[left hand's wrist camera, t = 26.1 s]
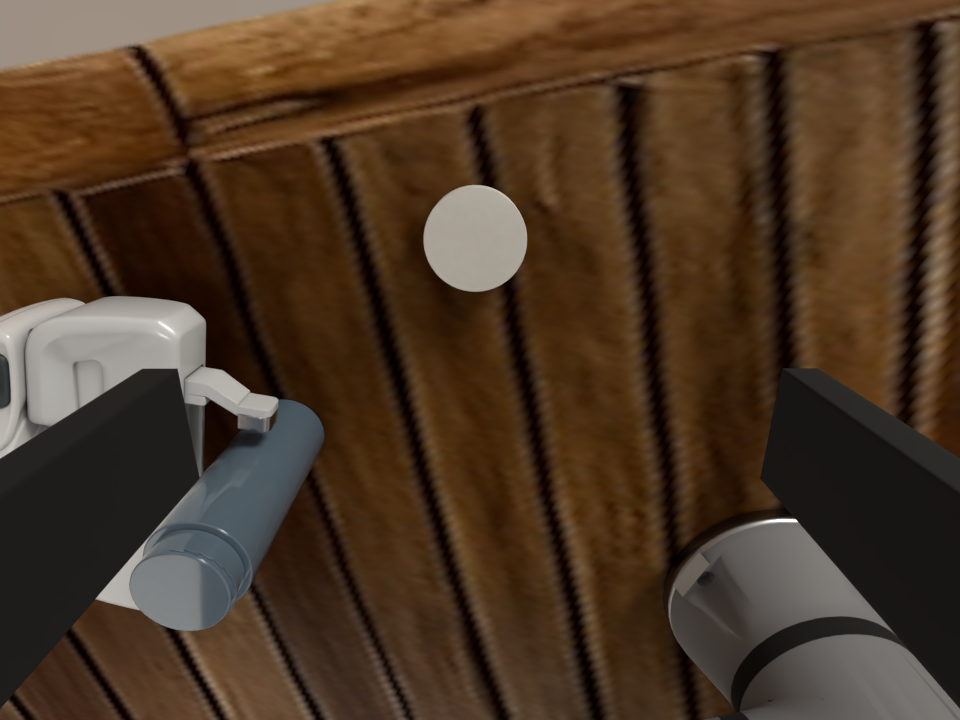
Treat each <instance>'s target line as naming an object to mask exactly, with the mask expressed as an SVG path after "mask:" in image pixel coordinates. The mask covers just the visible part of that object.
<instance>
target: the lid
mask: <svg viewBox="0 0 960 720" xmlns="http://www.w3.org/2000/svg"><path fill="white" fill-rule="evenodd" d="M423 242H424V250H425V254H426V257H427V259H428V262H429V264H430V266H431V267H432V269H433V270H434V272H435V273H436V274H437V275H438V276H439V277H440V278H441V279H442V280H443V281H445V282H446V283H448V284H449V285H451V286H453V287H455V288H457V289H460V290H464V291H470V292H480V291H486V290H490V289H493V288H496V287H498V286H500V285H502V284H503V283H505V282H506V281H507V280H509V279H510V278H511V277H512V276H513V275H514V274H515V272H516V271H517V270H518V268H519V267H520V265H521V263H522V261H523V259H524V256H525V252H526V247H527V232H526V227H525V223H524V220H523V218H522V216H521V214H520V212H519V211H518V209H517V208H516V206H515V205H514V203H513V202H512V201H511V200H510V199H509V198H508V197H507V196H506V195H504V194H503V193H501V192H500V191H498V190H496V189H493V188H490V187H487V186H482V185H469V186H464V187H460V188H457V189H455V190H453V191H451V192H449V193H448V194H447V195H445V196H444V197H443V198H442V199H441V200H440V201H439V202H438V203H437V204H436V206H435V207H434V208H433V210H432V211H431V213H430V215H429V217H428V219H427V221H426V225H425V229H424V240H423Z"/></svg>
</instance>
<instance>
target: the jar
mask: <svg viewBox="0 0 960 720" xmlns="http://www.w3.org/2000/svg"><path fill="white" fill-rule="evenodd" d="M323 443H324V429H323V426H322V423H321V421H320V419H319V418H318V417H317V415H316V414H315V413H314V412H313V411H312V410H311V409H310V408H308V407H307V406H305V405H303V404H301V403H299V402H296V401H292V400H284V399H281V400H278V413H277V423H276V424H274V426H273V428H272V429H271V431H268V432H257V431H256V430H255V429H251V430H245V429H240V431H239V432H238V433H237V434H236V435H235V436H234V438H233V439H232V440H231V441H230V442H229V444H228V445H227V446H226V447H225V448H224V450H223V451H222V452H221V453H220V454H219V455H218V457H217V458H216V459H215V460H214V461H213V463H212V464H211V465H210V466H209V467H208V469H207V470H206V471H205V472H204V473H203V474H202V476H201V477H200V479H199V480H198V481H197V482H196V483H195V485H194V486H193V487H192V488H191V489H190V490H189V491H188V493H187V494H186V495H185V496H184V497H183V498H182V500H181V501H180V502H179V503H178V504H177V505H176V506H175V508H174V509H173V510H172V511H171V512H170V514H169V515H168V516H167V517H166V518H165V520H164V521H163V522H162V523H161V524H160V525H159V527H158V528H157V529H156V530H155V531H154V533H153V534H152V535H151V536H150V538H149V539H148V540H147V542H146V544H145V547H144V550H143V558H142V559H141V560H140V562H139V563H138V564H137V565H136V567H135V568H134V569H133V571H132V573H131V577H130V582H129V587H130V593H131V596H132V599H133V601H134V602H135V604H136V605H137V607H138V608H139V609H140V610H141V611H142V612H143V613H144V614H145V615H146V616H147V617H148V618H150V619H151V620H153V621H154V622H156V623H158V624H160V625H163V626H165V627H168V628H171V629H176V630H182V631H197V630H202V629H206V628H209V627H211V626H213V625H215V624H217V623H218V622H219V621H221V620H222V619H223V618H224V617H225V616H226V614H227V613H229V612H230V611H231V609H232V608H233V606H234V605H235V603H236V601H237V600H238V599H240V598H241V597H242V596H243V595H244V594H245V593H246V592H247V590H248V589H249V587H250V585H251V583H252V581H253V579H254V578H255V576H256V574H257V572H258V570H259V568H260V566H261V564H262V562H263V560H264V558H265V556H266V554H267V553H268V551H269V549H270V547H271V545H272V543H273V541H274V539H275V537H276V535H277V533H278V531H279V529H280V528H281V526H282V524H283V522H284V520H285V518H286V516H287V514H288V512H289V510H290V508H291V506H292V504H293V502H294V501H295V499H296V497H297V495H298V493H299V491H300V489H301V487H302V485H303V483H304V481H305V479H306V477H307V476H308V474H309V472H310V470H311V468H312V466H313V464H314V462H315V460H316V458H317V456H318V454H319V452H320V451H321V449H322V446H323Z"/></svg>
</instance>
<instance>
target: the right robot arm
mask: <svg viewBox="0 0 960 720" xmlns="http://www.w3.org/2000/svg"><path fill="white" fill-rule="evenodd" d="M205 359H206V321H205V319H204V318H203V317H202V316H201V315H200V314H199V313H198V312H197V311H196V310H194V309H193V308H192V307H191V306H190V305H188V304H185V303H181V302H177V301H170V300H163V299H155V298H144V297H126V296H112V297H105V298H101V299H98V300H95V301H92V302H90V303H87V304H85V303H83V302H81V301H78V300H75V299H69V298H59V299H53V300H48V301H43V302H39V303H36V304H32V305H29V306H26V307H23V308H20V309H18V310H15V311H12V312H10V313H7V314H5V315H3V316H0V458H2V457H3V456H5V455H7V454H8V453H10V452H11V451H13V450H14V449H16V448H18V447H19V446H21V445H22V444H24V443H26V442H27V441H29V440H30V439H32V438H33V437H35V436H37V435H38V434H40V433H41V432H43V431H44V430H46V429H48V428H49V427H51V426H52V425H54V424H56V423H57V422H59V421H60V420H62V419H63V418H65V417H67V416H68V415H70V414H71V413H73V412H75V411H76V410H78V409H79V408H81V407H82V406H84V405H86V404H87V403H89V402H90V401H92V400H94V399H95V398H97V397H98V396H100V395H101V394H103V393H105V392H106V391H108V390H109V389H111V388H112V387H114V386H116V385H117V384H119V383H120V382H122V381H124V380H125V379H127V378H128V377H130V376H131V375H133V374H135V373H136V372H138V371H139V370H141V369H178V373H179V378H180V383H181V388H182V393H183V398H184V403H185V408H186V413H187V418H188V423H189V428H190V433H191V437H192V442H193V447H194V452H195V457H196V462H197V467H198V472H199V477H201V476H202V474H203V473H204V420H205V405H206V404H207V403H208V402H209V401H210V400H212V401H214V402H216V403H217V404H219V405H220V406H222V407H224V408H225V409H227V410H228V411H230V412H232V413H233V414H235V415H236V416H238V428H239V429H245V430H251V429H255V430H256V431H257V432H268V431H271V429H272V428H273V426H274V424H276V423H277V413H278V399H277V398H275V397H271V396H265V395H259V394H253V393H250V390H248V389H247V388H246V387H244V386H243V385H242V384H240V383H239V382H238V381H236V380H235V379H234V378H232V377H231V376H230V375H228V374H227V373H226V372H224V371H223V370H219V369H213V368H207V367H205ZM169 514H170V513H169ZM164 520H165V519H164ZM164 520H163V521H164ZM163 521H162V522H163ZM158 527H159V526H158ZM158 527H157V528H158ZM157 528H156V529H157ZM153 533H154V532H153ZM153 533H152V534H153ZM152 534H151V535H152ZM151 535H150V536H151ZM150 536H149V538H150ZM149 538H148V539H149ZM148 539H147V540H148ZM147 540H146V541H145V542H144V543H143V545H142V546H141V547H140V548H139V549H138V550H137V551H136V553H135V554H134V555H133V556H132V557H131V558H130V560H129V561H128V562H127V563H126V564H125V565H124V566H123V568H122V569H121V570H120V571H119V572H118V573H117V575H116V576H115V577H114V578H113V579H112V580H111V581H110V583H109V584H108V585H107V586H106V587H105V588H104V590H103V591H102V592H101V593H100V594H99V595H98V596H97V598H96V599H97V600H100V601H104V602H107V603H111V604H115V605H119V606H123V607H127V608H131V609H136V610H140V609H139V608H138V607H137V605H136V604H135V602H134V601H133V599H132V596H131V593H130V587H129V582H130V577H131V573H132V571H133V569H134V568H135V567H136V565H137V564H138V563H139V562H140V560H141V559H142V558H143V550H144V547H145V544H146V542H147Z"/></svg>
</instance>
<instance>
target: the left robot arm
mask: <svg viewBox="0 0 960 720" xmlns="http://www.w3.org/2000/svg"><path fill="white" fill-rule="evenodd" d="M199 479H200V477H199V472H198V467H197V462H196V457H195V452H194V447H193V442H192V437H191V433H190V428H189V423H188V418H187V413H186V408H185V403H184V398H183V393H182V388H181V383H180V378H179V373H178V369H141V370H139V371H138V372H136V373H135V374H133V375H131V376H130V377H128V378H127V379H125V380H124V381H122V382H120V383H119V384H117V385H116V386H114V387H112V388H111V389H109V390H108V391H106V392H105V393H103V394H101V395H100V396H98V397H97V398H95V399H94V400H92V401H90V402H89V403H87V404H86V405H84V406H82V407H81V408H79V409H78V410H76V411H75V412H73V413H71V414H70V415H68V416H67V417H65V418H63V419H62V420H60V421H59V422H57V423H56V424H54V425H52V426H51V427H49V428H48V429H46V430H44V431H43V432H41V433H40V434H38V435H37V436H35V437H33V438H32V439H30V440H29V441H27V442H26V443H24V444H22V445H21V446H19V447H18V448H16V449H14V450H13V451H11V452H10V453H8V454H7V455H5V456H3V457H2V458H0V708H1V707H2V706H3V705H4V704H5V703H6V701H7V700H8V699H9V698H10V697H11V696H12V695H13V693H14V692H15V691H16V690H17V689H18V688H19V686H20V685H21V684H22V683H23V682H24V681H25V680H26V678H27V677H28V676H29V675H30V674H31V673H32V671H33V670H34V669H35V668H36V667H37V666H38V665H39V663H40V662H41V661H42V660H43V659H44V658H45V656H46V655H47V654H48V653H49V652H50V651H51V650H52V648H53V647H54V646H55V645H56V644H57V643H58V641H59V640H60V639H61V638H62V637H63V636H64V635H65V633H66V632H67V631H68V630H69V629H70V628H71V626H72V625H73V624H74V623H75V622H76V621H77V620H78V618H79V617H80V616H81V615H82V614H83V613H84V611H85V610H86V609H87V608H88V607H89V606H90V605H91V603H92V602H93V601H94V600H95V599H96V598H97V596H98V595H99V594H100V593H101V592H102V591H103V590H104V588H105V587H106V586H107V585H108V584H109V583H110V581H111V580H112V579H113V578H114V577H115V576H116V575H117V573H118V572H119V571H120V570H121V569H122V568H123V566H124V565H125V564H126V563H127V562H128V561H129V560H130V558H131V557H132V556H133V555H134V554H135V553H136V551H137V550H138V549H139V548H140V547H141V546H142V545H143V543H144V542H145V541H146V540H147V539H148V538H149V536H150V535H151V534H152V533H153V532H154V531H155V530H156V528H157V527H158V526H159V525H160V524H161V523H162V521H163V520H164V519H165V518H166V517H167V516H168V515H169V513H170V512H171V511H172V510H173V509H174V508H175V506H176V505H177V504H178V503H179V502H180V501H181V500H182V498H183V497H184V496H185V495H186V494H187V493H188V491H189V490H190V489H191V488H192V487H193V486H194V485H195V483H196V482H197V481H198V480H199ZM760 479H761V480H762V481H763V482H764V483H765V485H766V486H767V487H768V488H769V489H770V490H771V491H772V493H773V494H774V495H775V496H776V497H777V498H778V500H779V501H780V502H781V503H782V504H783V505H784V506H785V508H786V509H787V510H763V511H756V512H751V513H747V514H743V515H739V516H736V517H733V518H730V519H728V520H726V521H723V522H721V523H719V524H717V525H715V526H714V527H712V528H710V529H709V530H707V531H705V532H704V533H702V534H701V535H700V536H698V537H697V538H696V539H695V540H694V541H692V542H691V543H690V544H689V545H688V546H687V547H686V548H685V549H684V550H683V552H682V553H681V554H680V555H679V557H678V558H677V559H676V561H675V563H674V564H673V566H672V568H671V570H670V572H669V574H668V577H667V580H666V583H665V588H664V608H665V612H666V616H667V618H668V621H669V623H670V626H671V628H672V631H673V633H674V636H675V638H676V639H677V641H678V643H679V644H680V645H681V647H682V648H683V650H684V651H685V652H686V654H687V655H688V656H689V657H690V658H691V659H692V661H693V662H694V663H695V664H696V665H697V666H698V667H699V668H700V670H701V671H702V672H703V673H704V674H705V675H706V676H707V677H708V679H709V680H710V681H711V682H712V683H713V684H714V685H715V686H716V688H717V689H718V690H719V691H720V692H721V693H722V694H723V695H724V697H725V698H726V699H727V700H728V701H729V702H730V703H731V705H732V707H733V709H734V712H735V713H733V714H728V715H724V716H718V717H713V718H708V719H704V720H960V458H958V457H957V456H955V455H953V454H952V453H950V452H949V451H947V450H946V449H944V448H942V447H941V446H939V445H938V444H936V443H934V442H933V441H931V440H930V439H928V438H927V437H925V436H923V435H922V434H920V433H919V432H917V431H916V430H914V429H912V428H911V427H909V426H908V425H906V424H904V423H903V422H901V421H900V420H898V419H897V418H895V417H893V416H892V415H890V414H889V413H887V412H885V411H884V410H882V409H881V408H879V407H878V406H876V405H874V404H873V403H871V402H870V401H868V400H866V399H865V398H863V397H862V396H860V395H859V394H857V393H855V392H854V391H852V390H851V389H849V388H848V387H846V386H844V385H843V384H841V383H840V382H838V381H836V380H835V379H833V378H832V377H830V376H829V375H827V374H825V373H824V372H822V371H821V370H819V369H782V373H781V378H780V383H779V388H778V393H777V398H776V403H775V408H774V413H773V418H772V423H771V428H770V433H769V437H768V442H767V447H766V452H765V457H764V462H763V467H762V472H761V477H760Z"/></svg>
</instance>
